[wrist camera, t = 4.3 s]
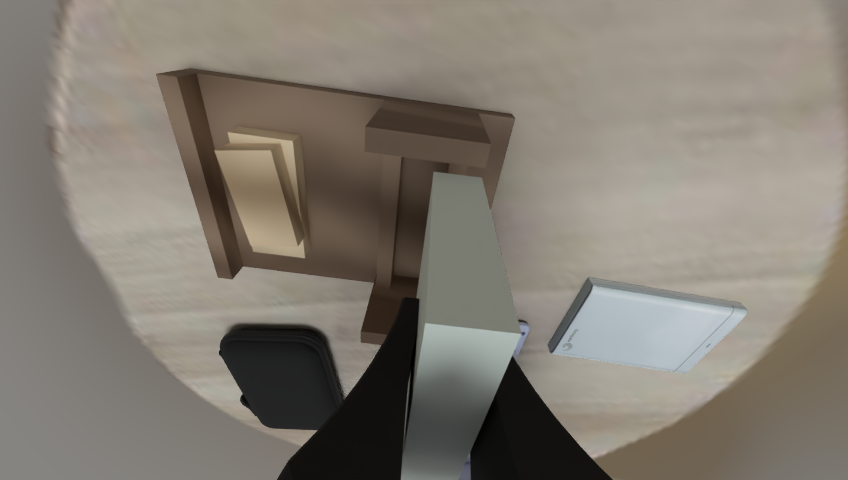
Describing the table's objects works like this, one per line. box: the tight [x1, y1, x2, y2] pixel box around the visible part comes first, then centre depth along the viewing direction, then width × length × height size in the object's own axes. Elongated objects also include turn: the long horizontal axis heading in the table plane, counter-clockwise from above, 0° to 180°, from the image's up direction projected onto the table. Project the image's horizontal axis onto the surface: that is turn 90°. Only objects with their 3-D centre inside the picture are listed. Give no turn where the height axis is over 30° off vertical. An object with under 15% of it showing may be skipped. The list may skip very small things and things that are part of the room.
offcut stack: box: [214, 126, 311, 258], centre depth 20 cm, size 8×4×2 cm, turn 173°
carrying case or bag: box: [219, 329, 342, 430], centre depth 32 cm, size 11×3×15 cm
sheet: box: [401, 172, 521, 480], centre depth 12 cm, size 9×2×8 cm, turn 174°
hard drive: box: [548, 277, 748, 373], centre depth 27 cm, size 2×8×12 cm
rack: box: [156, 68, 515, 345], centre depth 19 cm, size 13×18×6 cm
